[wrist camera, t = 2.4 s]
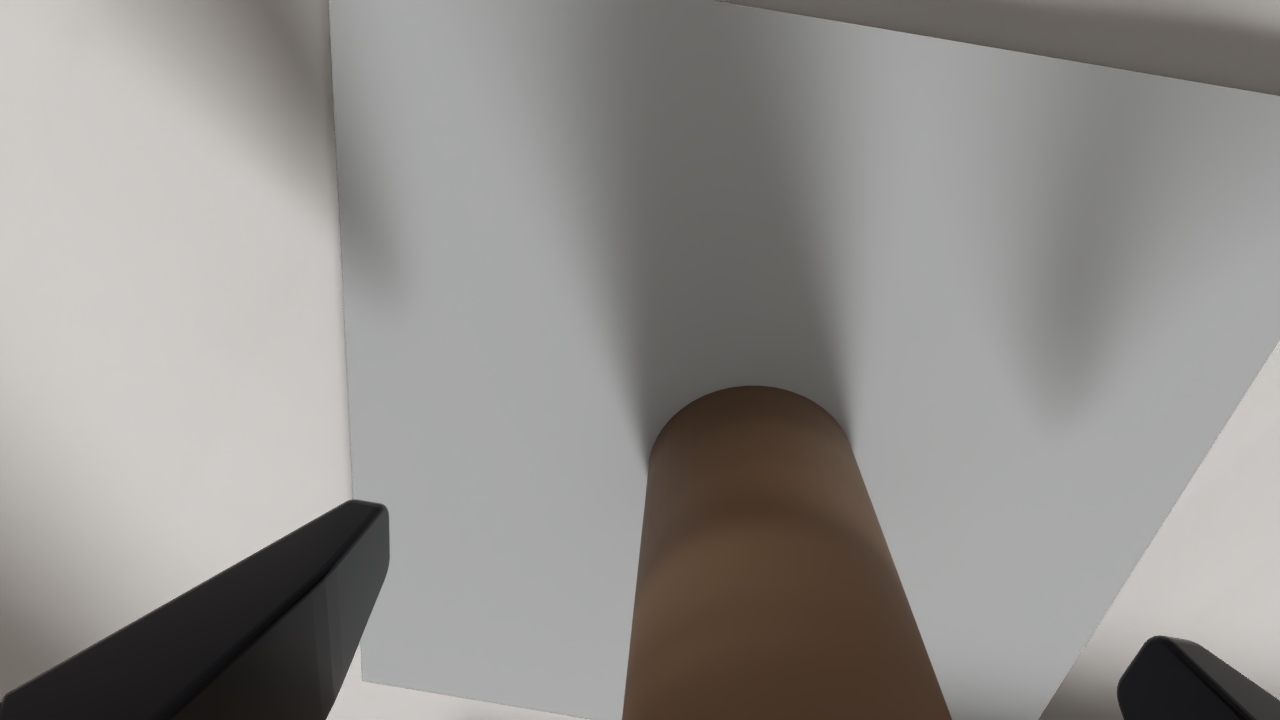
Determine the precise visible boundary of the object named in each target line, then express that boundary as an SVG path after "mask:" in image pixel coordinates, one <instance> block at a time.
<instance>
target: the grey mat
mask: <svg viewBox="0 0 1280 720" xmlns="http://www.w3.org/2000/svg"><path fill="white" fill-rule="evenodd" d="M329 20H330V40H331V60H332V81H333V101H334V121H335V142H336V162H337V182H338V202H339V223H340V243H341V263H342V283H343V304H344V324H345V344H346V365H347V385H348V405H349V425H350V446H351V466H352V486H353V499H358V500H364V501H370V502H376V503H381V504H383V505H385V506H386V507H387V509H388V512H389V534H390V561H389V567H388V572H387V575H386V578H385V581H384V583H383V586H382V588H381V590H380V593H379V595H378V598H377V600H376V603H375V605H374V608H373V610H372V613H371V615H370V618H369V620H368V622H367V625H366V627H365V630H364V632H363V635H362V637H361V640H360V648H361V669H362V681H365V682H371V683H377V684H383V685H389V686H395V687H401V688H407V689H413V690H419V691H425V692H431V693H437V694H443V695H448V696H454V697H460V698H466V699H472V700H478V701H484V702H490V703H496V704H502V705H508V706H514V707H520V708H526V709H532V710H538V711H544V712H550V713H556V714H562V715H568V716H573V717H579V718H585V719H591V720H622V714H623V704H624V695H625V686H626V676H627V667H628V657H629V648H630V638H631V629H632V620H633V610H634V601H635V591H636V582H637V572H638V563H639V554H640V544H641V535H642V525H643V516H644V506H645V497H646V487H647V478H648V469H649V460H650V455H651V451H652V448H653V445H654V443H655V441H656V439H657V437H658V435H659V433H660V432H661V430H662V429H663V427H664V426H665V425H666V424H667V422H668V421H669V420H670V419H671V418H672V417H673V416H674V415H675V414H676V413H677V412H679V411H680V410H681V409H682V408H684V407H685V406H687V405H688V404H689V403H691V402H692V401H694V400H696V399H698V398H700V397H702V396H704V395H707V394H710V393H712V392H715V391H718V390H722V389H727V388H731V387H739V386H768V387H776V388H780V389H784V390H788V391H791V392H794V393H797V394H799V395H802V396H804V397H806V398H808V399H810V400H812V401H813V402H815V403H816V404H818V405H819V406H821V407H822V408H824V409H825V410H826V411H827V412H828V413H829V414H830V415H831V416H832V417H833V418H834V419H835V420H836V421H837V422H838V424H839V425H840V426H841V428H842V429H843V431H844V433H845V434H846V436H847V438H848V440H849V443H850V446H851V448H852V451H853V453H854V456H855V459H856V462H857V464H858V467H859V470H860V472H861V475H862V478H863V480H864V483H865V486H866V489H867V491H868V494H869V497H870V499H871V502H872V505H873V507H874V510H875V513H876V516H877V518H878V521H879V524H880V526H881V529H882V532H883V534H884V537H885V540H886V542H887V545H888V548H889V551H890V553H891V556H892V559H893V561H894V564H895V567H896V569H897V572H898V575H899V578H900V580H901V583H902V586H903V588H904V591H905V594H906V596H907V599H908V602H909V605H910V607H911V610H912V613H913V615H914V618H915V621H916V623H917V626H918V629H919V631H920V634H921V637H922V640H923V642H924V645H925V648H926V650H927V653H928V656H929V658H930V661H931V664H932V667H933V669H934V672H935V675H936V677H937V680H938V683H939V685H940V688H941V691H942V694H943V696H944V699H945V702H946V704H947V707H948V710H949V712H950V715H951V718H952V720H1038V719H1039V718H1040V716H1041V714H1042V713H1043V711H1044V710H1045V708H1046V707H1047V705H1048V703H1049V702H1050V700H1051V699H1052V697H1053V696H1054V694H1055V692H1056V691H1057V689H1058V688H1059V686H1060V685H1061V683H1062V681H1063V680H1064V678H1065V677H1066V675H1067V674H1068V672H1069V670H1070V669H1071V667H1072V666H1073V664H1074V663H1075V661H1076V659H1077V658H1078V656H1079V655H1080V653H1081V652H1082V650H1083V648H1084V647H1085V645H1086V644H1087V642H1088V641H1089V639H1090V637H1091V636H1092V634H1093V633H1094V631H1095V629H1096V628H1097V626H1098V625H1099V623H1100V622H1101V620H1102V618H1103V617H1104V615H1105V614H1106V612H1107V611H1108V609H1109V607H1110V606H1111V604H1112V603H1113V601H1114V600H1115V598H1116V596H1117V595H1118V593H1119V592H1120V590H1121V589H1122V587H1123V585H1124V584H1125V582H1126V581H1127V579H1128V578H1129V576H1130V574H1131V573H1132V571H1133V570H1134V568H1135V567H1136V565H1137V563H1138V562H1139V560H1140V559H1141V557H1142V556H1143V554H1144V552H1145V551H1146V549H1147V548H1148V546H1149V545H1150V543H1151V541H1152V540H1153V538H1154V537H1155V535H1156V533H1157V532H1158V530H1159V529H1160V527H1161V526H1162V524H1163V522H1164V521H1165V519H1166V518H1167V516H1168V515H1169V513H1170V511H1171V510H1172V508H1173V507H1174V505H1175V504H1176V502H1177V500H1178V499H1179V497H1180V496H1181V494H1182V493H1183V491H1184V489H1185V488H1186V486H1187V485H1188V483H1189V482H1190V480H1191V478H1192V477H1193V475H1194V474H1195V472H1196V471H1197V469H1198V467H1199V466H1200V464H1201V463H1202V461H1203V460H1204V458H1205V456H1206V455H1207V453H1208V452H1209V450H1210V449H1211V447H1212V445H1213V444H1214V442H1215V441H1216V439H1217V437H1218V436H1219V434H1220V433H1221V431H1222V430H1223V428H1224V426H1225V425H1226V423H1227V422H1228V420H1229V419H1230V417H1231V415H1232V414H1233V412H1234V411H1235V409H1236V408H1237V406H1238V404H1239V403H1240V401H1241V400H1242V398H1243V397H1244V395H1245V393H1246V392H1247V390H1248V389H1249V387H1250V386H1251V384H1252V382H1253V381H1254V379H1255V378H1256V376H1257V375H1258V373H1259V371H1260V370H1261V368H1262V367H1263V365H1264V364H1265V362H1266V360H1267V359H1268V357H1269V356H1270V354H1271V352H1272V351H1273V349H1274V348H1275V346H1276V345H1277V343H1278V341H1279V340H1280V96H1277V95H1271V94H1265V93H1259V92H1253V91H1247V90H1241V89H1236V88H1230V87H1224V86H1218V85H1212V84H1206V83H1200V82H1194V81H1188V80H1182V79H1176V78H1171V77H1165V76H1159V75H1153V74H1147V73H1141V72H1135V71H1129V70H1123V69H1117V68H1111V67H1106V66H1100V65H1094V64H1088V63H1082V62H1076V61H1070V60H1064V59H1058V58H1052V57H1046V56H1040V55H1035V54H1029V53H1023V52H1017V51H1011V50H1005V49H999V48H993V47H987V46H981V45H975V44H970V43H964V42H958V41H952V40H946V39H940V38H934V37H928V36H922V35H916V34H910V33H905V32H899V31H893V30H887V29H881V28H875V27H869V26H863V25H857V24H851V23H845V22H840V21H834V20H828V19H822V18H816V17H810V16H804V15H798V14H792V13H786V12H780V11H775V10H769V9H763V8H757V7H751V6H745V5H739V4H733V3H727V2H721V1H715V0H329Z"/></svg>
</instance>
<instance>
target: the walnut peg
mask: <svg viewBox="0 0 1280 720" xmlns="http://www.w3.org/2000/svg"><path fill="white" fill-rule="evenodd" d="M622 720H952V718H951V715H950V712H949V710H948V707H947V704H946V702H945V699H944V696H943V694H942V691H941V688H940V685H939V683H938V680H937V677H936V675H935V672H934V669H933V667H932V664H931V661H930V658H929V656H928V653H927V650H926V648H925V645H924V642H923V640H922V637H921V634H920V631H919V629H918V626H917V623H916V621H915V618H914V615H913V613H912V610H911V607H910V605H909V602H908V599H907V596H906V594H905V591H904V588H903V586H902V583H901V580H900V578H899V575H898V572H897V569H896V567H895V564H894V561H893V559H892V556H891V553H890V551H889V548H888V545H887V542H886V540H885V537H884V534H883V532H882V529H881V526H880V524H879V521H878V518H877V516H876V513H875V510H874V507H873V505H872V502H871V499H870V497H869V494H868V491H867V489H866V486H865V483H864V480H863V478H862V475H861V472H860V470H859V467H858V464H857V462H856V459H855V456H854V453H853V451H852V448H851V446H850V443H849V440H848V438H847V436H846V434H845V433H844V431H843V429H842V428H841V426H840V425H839V424H838V422H837V421H836V420H835V419H834V418H833V417H832V416H831V415H830V414H829V413H828V412H827V411H826V410H825V409H824V408H822V407H821V406H819V405H818V404H816V403H815V402H813V401H812V400H810V399H808V398H806V397H804V396H802V395H799V394H797V393H794V392H791V391H788V390H784V389H780V388H776V387H768V386H739V387H731V388H727V389H722V390H718V391H715V392H712V393H710V394H707V395H704V396H702V397H700V398H698V399H696V400H694V401H692V402H691V403H689V404H688V405H687V406H685V407H684V408H682V409H681V410H680V411H679V412H677V413H676V414H675V415H674V416H673V417H672V418H671V419H670V420H669V421H668V422H667V424H666V425H665V426H664V427H663V429H662V430H661V432H660V433H659V435H658V437H657V439H656V441H655V443H654V445H653V448H652V451H651V455H650V460H649V469H648V478H647V487H646V497H645V506H644V516H643V525H642V535H641V544H640V554H639V563H638V572H637V582H636V591H635V601H634V610H633V620H632V629H631V638H630V648H629V657H628V667H627V676H626V686H625V695H624V704H623V714H622Z"/></svg>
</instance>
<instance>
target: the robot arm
mask: <svg viewBox="0 0 1280 720" xmlns="http://www.w3.org/2000/svg"><path fill="white" fill-rule="evenodd" d="M389 561H390V534H389V512H388V509H387V507H386V506H385V505H383V504H381V503H376V502H370V501H364V500H358V499H352V500H349V501H347V502H345V503H343V504H341V505H339V506H337V507H336V508H334V509H332V510H330V511H329V512H327V513H325V514H323V515H322V516H320V517H318V518H316V519H314V520H313V521H311V522H309V523H307V524H306V525H304V526H302V527H300V528H299V529H297V530H295V531H293V532H291V533H290V534H288V535H286V536H284V537H283V538H281V539H279V540H277V541H276V542H274V543H272V544H270V545H269V546H267V547H265V548H263V549H261V550H260V551H258V552H256V553H254V554H253V555H251V556H249V557H247V558H246V559H244V560H242V561H240V562H238V563H237V564H235V565H233V566H231V567H230V568H228V569H226V570H224V571H223V572H221V573H219V574H217V575H215V576H214V577H212V578H210V579H208V580H207V581H205V582H203V583H201V584H200V585H198V586H196V587H194V588H193V589H191V590H189V591H187V592H185V593H184V594H182V595H180V596H178V597H177V598H175V599H173V600H171V601H170V602H168V603H166V604H164V605H162V606H161V607H159V608H157V609H155V610H154V611H152V612H150V613H148V614H147V615H145V616H143V617H141V618H139V619H138V620H136V621H134V622H132V623H131V624H129V625H127V626H125V627H124V628H122V629H120V630H118V631H117V632H115V633H113V634H111V635H109V636H108V637H106V638H104V639H102V640H101V641H99V642H97V643H95V644H94V645H92V646H90V647H88V648H86V649H85V650H83V651H81V652H79V653H78V654H76V655H74V656H72V657H71V658H69V659H67V660H65V661H63V662H62V663H60V664H58V665H56V666H55V667H53V668H51V669H49V670H48V671H46V672H44V673H42V674H41V675H39V676H37V677H35V678H33V679H32V680H30V681H28V682H26V683H25V684H23V685H21V686H19V687H18V688H16V689H14V690H12V691H10V692H9V693H7V694H6V695H5V696H4V697H3V699H2V701H1V703H0V720H326V718H327V716H328V714H329V712H330V710H331V708H332V706H333V704H334V702H335V700H336V698H337V695H338V693H339V691H340V688H341V686H342V684H343V681H344V679H345V677H346V674H347V672H348V669H349V667H350V664H351V662H352V659H353V657H354V654H355V652H356V649H357V647H358V645H359V642H360V640H361V637H362V635H363V632H364V630H365V627H366V625H367V622H368V620H369V618H370V615H371V613H372V610H373V608H374V605H375V603H376V600H377V598H378V595H379V593H380V590H381V588H382V586H383V583H384V581H385V578H386V575H387V572H388V567H389ZM1117 698H1118V703H1119V707H1120V709H1121V712H1122V715H1123V718H1124V720H1280V701H1279V700H1278V699H1277V698H1275V697H1274V696H1272V695H1271V694H1269V693H1268V692H1267V691H1265V690H1264V689H1262V688H1261V687H1259V686H1258V685H1257V684H1255V683H1254V682H1252V681H1251V680H1249V679H1248V678H1247V677H1245V676H1244V675H1242V674H1241V673H1239V672H1238V671H1236V670H1235V669H1234V668H1232V667H1231V666H1229V665H1228V664H1226V663H1225V662H1224V661H1222V660H1221V659H1219V658H1218V657H1216V656H1215V655H1214V654H1212V653H1211V652H1209V651H1208V650H1206V649H1205V648H1204V647H1202V646H1200V645H1199V644H1197V643H1195V642H1192V641H1189V640H1185V639H1179V638H1173V637H1167V636H1154V637H1152V638H1150V639H1148V640H1147V641H1146V642H1145V643H1144V645H1143V646H1142V648H1141V649H1140V651H1139V652H1138V654H1137V655H1136V656H1135V658H1134V659H1133V661H1132V662H1131V664H1130V665H1129V667H1128V668H1127V669H1126V671H1125V672H1124V674H1123V675H1122V677H1121V678H1120V680H1119V683H1118V686H1117Z"/></svg>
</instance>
